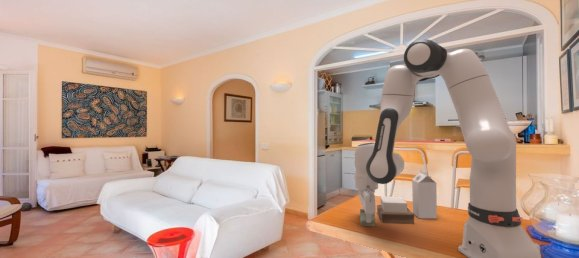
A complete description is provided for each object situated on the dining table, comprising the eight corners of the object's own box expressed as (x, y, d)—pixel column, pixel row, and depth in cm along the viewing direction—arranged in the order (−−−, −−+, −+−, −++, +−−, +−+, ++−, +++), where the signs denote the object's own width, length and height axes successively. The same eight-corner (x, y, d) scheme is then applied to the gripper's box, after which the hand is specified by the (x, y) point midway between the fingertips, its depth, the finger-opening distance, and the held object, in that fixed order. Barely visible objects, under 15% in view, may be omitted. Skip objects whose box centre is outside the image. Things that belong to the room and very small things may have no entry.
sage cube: (374, 226, 101) (374, 213, 101) (361, 226, 102) (361, 213, 102) (372, 221, 106) (372, 209, 106) (360, 221, 107) (359, 209, 107)
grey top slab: (407, 213, 105) (407, 203, 105) (383, 212, 107) (383, 202, 107) (402, 206, 114) (402, 197, 114) (380, 205, 116) (380, 196, 116)
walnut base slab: (414, 225, 103) (414, 215, 103) (382, 223, 105) (382, 214, 105) (405, 214, 115) (405, 205, 115) (377, 213, 117) (377, 204, 117)
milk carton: (429, 213, 114) (428, 170, 114) (437, 219, 107) (436, 173, 107) (412, 213, 115) (411, 170, 115) (418, 218, 108) (418, 173, 107)
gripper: (379, 190, 93) (380, 228, 93) (370, 178, 113) (371, 209, 114) (361, 189, 94) (361, 227, 94) (355, 178, 114) (356, 209, 115)
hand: (367, 217), depth 104 cm, fingers open, 7 cm apart
